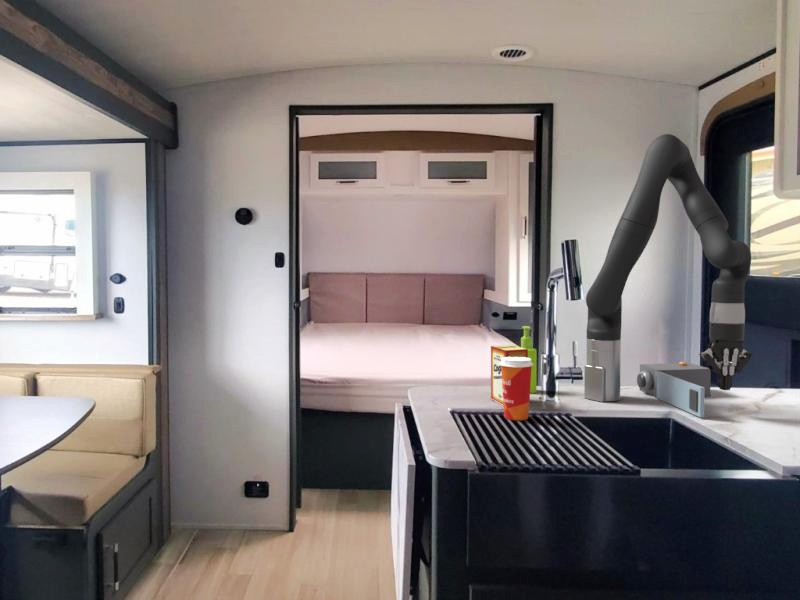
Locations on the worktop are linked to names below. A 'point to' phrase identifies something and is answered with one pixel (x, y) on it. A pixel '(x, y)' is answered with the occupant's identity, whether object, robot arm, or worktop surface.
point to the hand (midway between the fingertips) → (724, 389)
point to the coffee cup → (516, 387)
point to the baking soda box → (496, 373)
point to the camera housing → (674, 375)
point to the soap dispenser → (530, 356)
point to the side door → (680, 393)
